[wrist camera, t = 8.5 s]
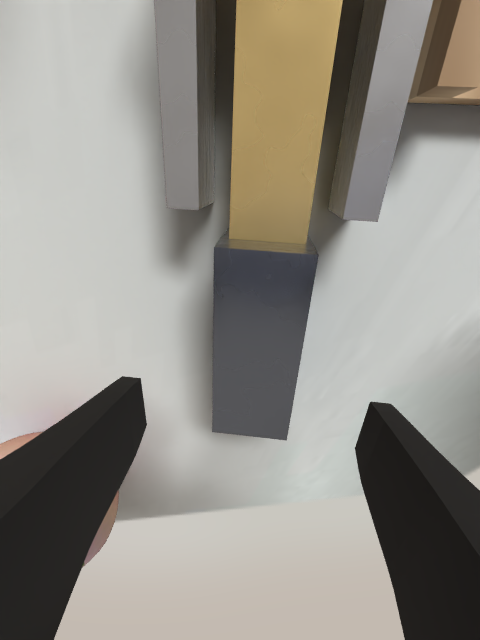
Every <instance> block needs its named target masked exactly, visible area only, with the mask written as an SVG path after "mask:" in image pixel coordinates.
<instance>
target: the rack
mask: <svg viewBox="0 0 480 640" xmlns="http://www.w3.org/2000/svg"><path fill="white" fill-rule="evenodd" d="M408 102H412V103H438V104H464V105H480V0H433V3H432V7H431V11H430V15H429V19H428V23H427V27H426V31H425V35H424V39H423V43H422V47H421V51H420V55H419V59H418V63H417V67H416V71H415V75H414V79H413V83H412V87H411V91H410V95H409V98H408Z"/></svg>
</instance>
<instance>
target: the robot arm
mask: <svg viewBox="0 0 480 640" xmlns="http://www.w3.org/2000/svg"><path fill="white" fill-rule="evenodd" d="M146 426H147V423H146V416H145V408H144V400H143V393H142V385H141V378H133V377H123V376H122V377H121V378H119V379H118V380H116V381H115V382H114V383H112V384H111V385H109V386H108V387H107V388H105V389H104V390H102V391H101V392H100V393H98V394H97V395H96V396H94V397H93V398H92V399H90V400H89V401H87V402H86V403H85V404H83V405H82V406H80V407H79V408H78V409H76V410H75V411H73V412H72V413H71V414H69V415H68V416H66V417H65V418H64V419H62V420H61V421H59V422H58V423H56V424H55V425H53V426H52V427H50V428H49V429H47V430H46V431H44V432H43V433H41V434H39V435H38V436H36V437H35V438H33V439H32V440H30V441H29V442H27V443H26V444H24V445H23V446H21V447H20V448H18V449H16V450H15V451H13V452H11V453H10V454H8V455H7V456H5V457H3V458H2V459H0V640H54V637H55V635H56V632H57V630H58V627H59V624H60V622H61V619H62V617H63V614H64V611H65V609H66V606H67V604H68V601H69V598H70V596H71V593H72V591H73V588H74V586H75V583H76V581H77V578H78V576H79V573H80V571H81V568H82V566H83V564H84V561H85V559H86V556H87V554H88V551H89V549H90V547H91V544H92V542H93V540H94V538H95V536H96V534H97V531H98V529H99V527H100V525H101V523H102V521H103V519H104V518H105V516H106V514H107V512H108V510H109V508H110V506H111V504H112V502H113V500H114V498H115V496H116V494H117V492H118V490H119V488H120V486H121V484H122V482H123V480H124V478H125V476H126V474H127V472H128V470H129V468H130V466H131V464H132V462H133V460H134V458H135V456H136V453H137V451H138V448H139V445H140V443H141V440H142V437H143V434H144V431H145V428H146ZM355 451H356V457H357V463H358V468H359V474H360V479H361V483H362V487H363V490H364V493H365V497H366V500H367V503H368V506H369V510H370V513H371V516H372V519H373V523H374V526H375V529H376V532H377V535H378V538H379V542H380V545H381V548H382V551H383V554H384V558H385V561H386V564H387V567H388V571H389V574H390V578H391V582H392V585H393V589H394V593H395V597H396V602H397V606H398V610H399V615H400V620H401V624H402V628H403V633H404V637H405V640H480V490H478V489H477V488H476V487H475V486H474V485H473V484H472V483H471V482H469V480H468V479H466V478H465V477H464V476H463V475H462V474H461V473H460V472H459V471H458V470H457V469H456V468H455V467H454V466H453V465H452V464H451V463H450V462H449V461H448V460H447V459H446V458H445V457H444V456H443V455H441V454H440V453H439V452H438V451H437V450H436V449H435V448H434V447H433V446H432V445H431V444H430V443H429V442H428V441H427V440H426V439H425V438H424V437H423V436H422V434H421V433H420V432H419V431H418V430H417V429H416V428H415V427H414V426H413V425H412V424H411V423H410V422H409V421H408V420H407V419H406V418H405V417H404V416H403V415H402V414H401V413H400V412H399V411H398V410H397V409H396V408H395V407H394V406H393V405H392V404H387V403H378V402H370V404H369V407H368V410H367V413H366V416H365V419H364V422H363V425H362V428H361V431H360V434H359V438H358V441H357V444H356V447H355Z"/></svg>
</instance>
